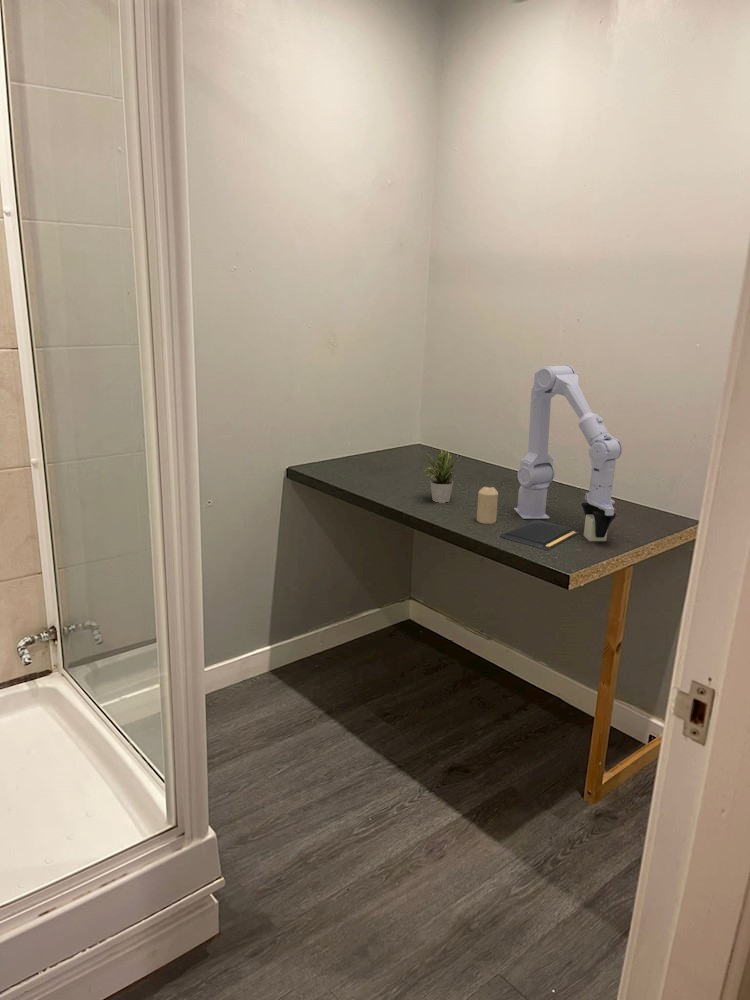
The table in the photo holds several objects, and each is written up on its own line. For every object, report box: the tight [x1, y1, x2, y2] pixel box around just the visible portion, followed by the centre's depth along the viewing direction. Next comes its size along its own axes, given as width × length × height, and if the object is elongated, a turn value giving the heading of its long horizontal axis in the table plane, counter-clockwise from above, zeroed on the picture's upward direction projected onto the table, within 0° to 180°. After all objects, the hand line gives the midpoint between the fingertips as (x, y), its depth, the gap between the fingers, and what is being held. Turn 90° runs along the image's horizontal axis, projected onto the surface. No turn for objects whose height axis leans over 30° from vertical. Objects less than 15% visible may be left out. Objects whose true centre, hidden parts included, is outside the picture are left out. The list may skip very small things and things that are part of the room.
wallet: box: [499, 519, 582, 552], centre depth 193 cm, size 20×2×15 cm
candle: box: [476, 486, 499, 525], centre depth 202 cm, size 6×6×10 cm
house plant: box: [422, 449, 459, 504], centre depth 220 cm, size 14×14×16 cm
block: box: [583, 515, 609, 542], centre depth 191 cm, size 4×4×6 cm
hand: (595, 533), depth 192 cm, fingers open, 6 cm apart
